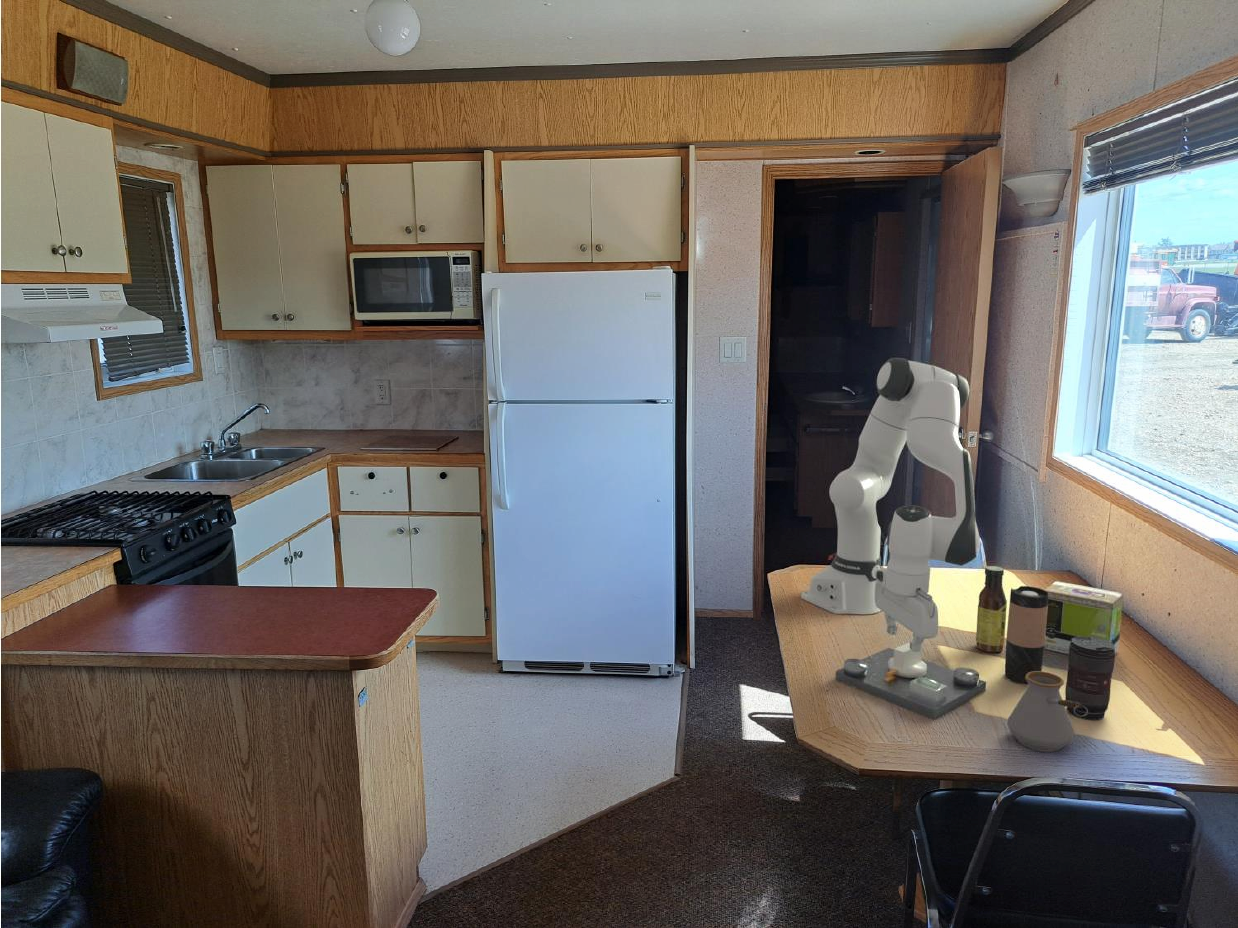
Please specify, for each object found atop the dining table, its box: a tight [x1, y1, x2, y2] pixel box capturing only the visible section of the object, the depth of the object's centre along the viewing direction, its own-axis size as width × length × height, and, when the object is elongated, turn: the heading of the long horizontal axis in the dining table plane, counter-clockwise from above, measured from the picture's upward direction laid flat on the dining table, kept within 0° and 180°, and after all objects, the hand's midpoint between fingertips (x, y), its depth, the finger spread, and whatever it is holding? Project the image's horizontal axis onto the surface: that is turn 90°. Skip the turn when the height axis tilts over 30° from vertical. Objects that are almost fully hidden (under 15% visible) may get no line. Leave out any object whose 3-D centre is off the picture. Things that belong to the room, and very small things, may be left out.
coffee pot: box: [1006, 671, 1088, 753], centre depth 159 cm, size 21×12×15 cm, turn 175°
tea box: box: [1044, 580, 1124, 655], centre depth 205 cm, size 15×10×15 cm, turn 48°
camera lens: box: [1064, 636, 1116, 721], centre depth 175 cm, size 8×8×15 cm
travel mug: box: [1004, 585, 1049, 686], centre depth 190 cm, size 8×8×20 cm
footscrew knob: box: [887, 640, 927, 678], centre depth 190 cm, size 11×8×6 cm
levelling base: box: [834, 647, 987, 720], centre depth 188 cm, size 24×20×6 cm
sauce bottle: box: [975, 565, 1008, 653], centre depth 206 cm, size 6×6×20 cm
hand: (903, 641), depth 190 cm, fingers open, 8 cm apart
